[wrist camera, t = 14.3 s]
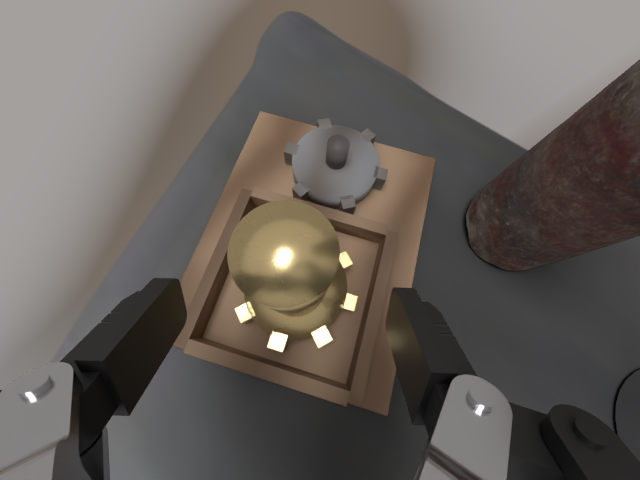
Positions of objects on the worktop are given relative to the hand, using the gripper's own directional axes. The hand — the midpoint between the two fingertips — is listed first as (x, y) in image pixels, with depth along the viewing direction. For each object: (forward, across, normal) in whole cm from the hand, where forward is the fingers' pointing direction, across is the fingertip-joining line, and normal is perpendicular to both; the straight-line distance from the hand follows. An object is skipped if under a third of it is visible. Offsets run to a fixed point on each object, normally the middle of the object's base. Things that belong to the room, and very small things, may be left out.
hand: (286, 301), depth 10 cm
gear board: (+11, -1, +3) cm, 11 cm away
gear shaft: (+7, 0, +5) cm, 9 cm away
